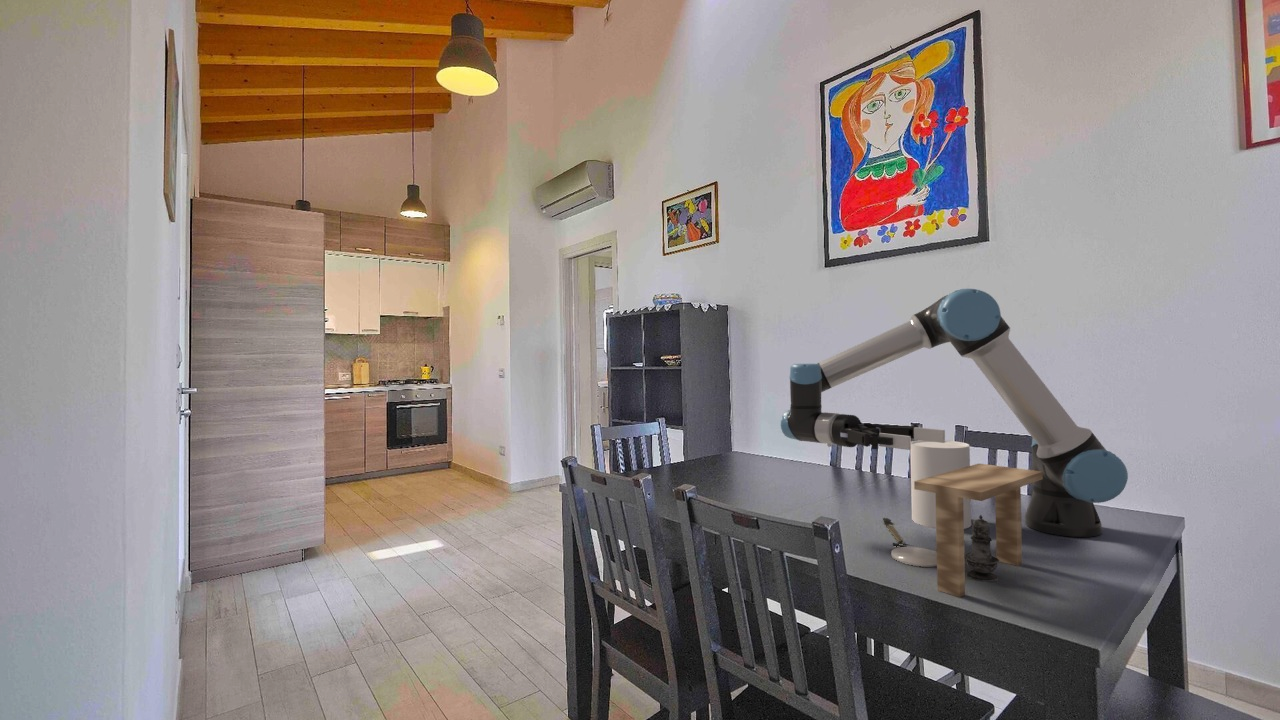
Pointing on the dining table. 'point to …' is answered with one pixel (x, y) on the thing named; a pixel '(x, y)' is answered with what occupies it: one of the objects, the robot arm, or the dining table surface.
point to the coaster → (915, 556)
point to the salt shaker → (981, 553)
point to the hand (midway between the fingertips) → (927, 439)
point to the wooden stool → (950, 515)
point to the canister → (929, 463)
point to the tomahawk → (894, 533)
